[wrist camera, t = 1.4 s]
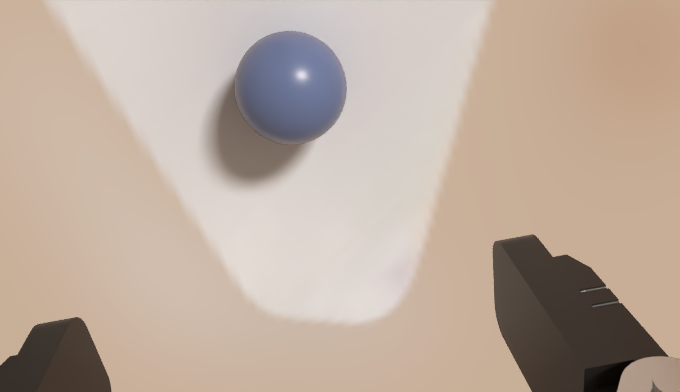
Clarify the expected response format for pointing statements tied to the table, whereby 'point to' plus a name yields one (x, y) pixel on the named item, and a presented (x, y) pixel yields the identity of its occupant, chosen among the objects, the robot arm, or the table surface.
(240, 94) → the blue ball
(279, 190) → the table surface
